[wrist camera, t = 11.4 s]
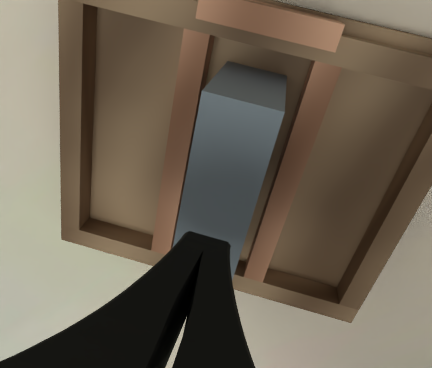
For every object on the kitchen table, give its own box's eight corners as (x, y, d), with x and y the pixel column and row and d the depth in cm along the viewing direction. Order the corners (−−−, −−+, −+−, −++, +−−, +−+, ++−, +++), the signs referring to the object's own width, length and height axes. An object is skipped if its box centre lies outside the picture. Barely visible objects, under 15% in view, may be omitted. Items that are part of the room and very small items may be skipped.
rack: (476, 49, 14) (515, 62, 12) (342, 298, 21) (348, 338, 19) (87, -44, 15) (48, -50, 13) (81, 223, 22) (55, 253, 20)
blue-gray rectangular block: (286, 75, 15) (285, 112, 11) (236, 243, 19) (220, 317, 15) (227, 61, 15) (202, 90, 11) (191, 231, 20) (162, 300, 15)
